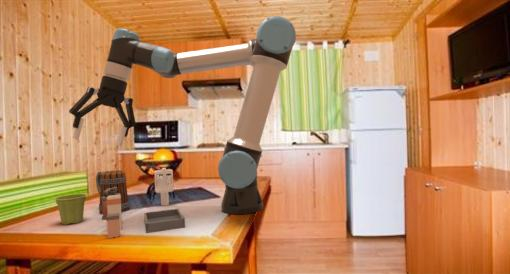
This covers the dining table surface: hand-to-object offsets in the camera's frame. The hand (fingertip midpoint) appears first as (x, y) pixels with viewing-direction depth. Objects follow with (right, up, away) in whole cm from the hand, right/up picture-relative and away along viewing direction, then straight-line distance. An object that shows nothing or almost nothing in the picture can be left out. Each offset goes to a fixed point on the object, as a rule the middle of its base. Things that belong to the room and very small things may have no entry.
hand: (98, 142), depth 99 cm
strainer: (+14, -26, +25) cm, 39 cm away
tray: (+21, -26, -2) cm, 33 cm away
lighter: (0, -27, +10) cm, 28 cm away
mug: (-5, -27, +20) cm, 34 cm away
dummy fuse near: (+10, -26, -12) cm, 31 cm away
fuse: (+8, -26, -5) cm, 28 cm away
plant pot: (-11, -27, +5) cm, 30 cm away
